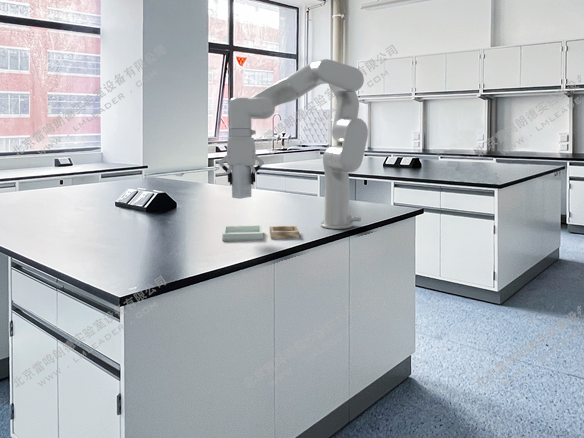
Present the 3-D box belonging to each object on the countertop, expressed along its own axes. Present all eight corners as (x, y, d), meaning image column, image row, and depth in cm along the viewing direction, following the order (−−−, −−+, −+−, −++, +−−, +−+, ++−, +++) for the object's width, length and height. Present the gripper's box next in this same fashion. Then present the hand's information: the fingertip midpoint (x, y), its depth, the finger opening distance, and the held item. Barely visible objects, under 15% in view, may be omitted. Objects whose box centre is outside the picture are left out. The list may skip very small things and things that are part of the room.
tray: (261, 231, 200) (261, 225, 199) (262, 240, 186) (262, 233, 186) (224, 232, 198) (223, 226, 198) (222, 241, 185) (222, 234, 184)
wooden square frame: (296, 232, 199) (296, 225, 198) (299, 238, 189) (299, 231, 189) (269, 232, 198) (269, 226, 198) (271, 238, 188) (270, 231, 188)
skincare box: (243, 195, 193) (243, 163, 191) (251, 197, 191) (251, 163, 188) (231, 197, 188) (231, 163, 186) (239, 198, 186) (239, 164, 184)
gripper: (265, 133, 190) (265, 182, 193) (216, 133, 188) (217, 183, 192) (266, 134, 182) (266, 185, 186) (215, 134, 181) (216, 185, 184)
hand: (241, 183), depth 189 cm, fingers closed on skincare box, 7 cm apart
